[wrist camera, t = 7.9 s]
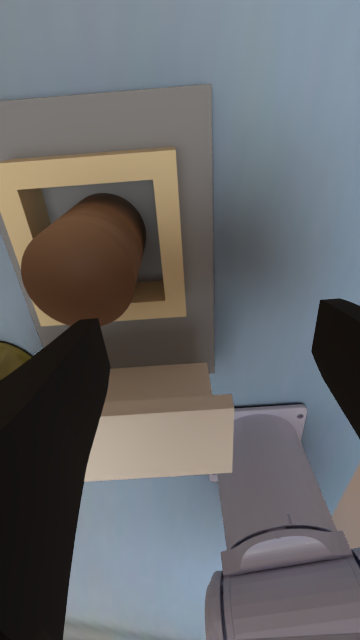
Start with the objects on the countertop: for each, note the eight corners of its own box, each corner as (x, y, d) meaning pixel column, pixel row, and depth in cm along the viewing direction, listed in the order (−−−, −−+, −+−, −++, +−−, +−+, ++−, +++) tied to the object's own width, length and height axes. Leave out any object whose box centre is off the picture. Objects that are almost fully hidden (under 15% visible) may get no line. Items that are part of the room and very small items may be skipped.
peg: (150, 266, 17) (141, 324, 12) (79, 271, 17) (40, 331, 12) (141, 190, 15) (125, 220, 10) (59, 195, 15) (4, 229, 10)
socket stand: (212, 359, 23) (232, 472, 15) (62, 369, 23) (9, 486, 15) (207, 87, 14) (246, 44, 7) (-28, 106, 15) (-238, 83, 7)
